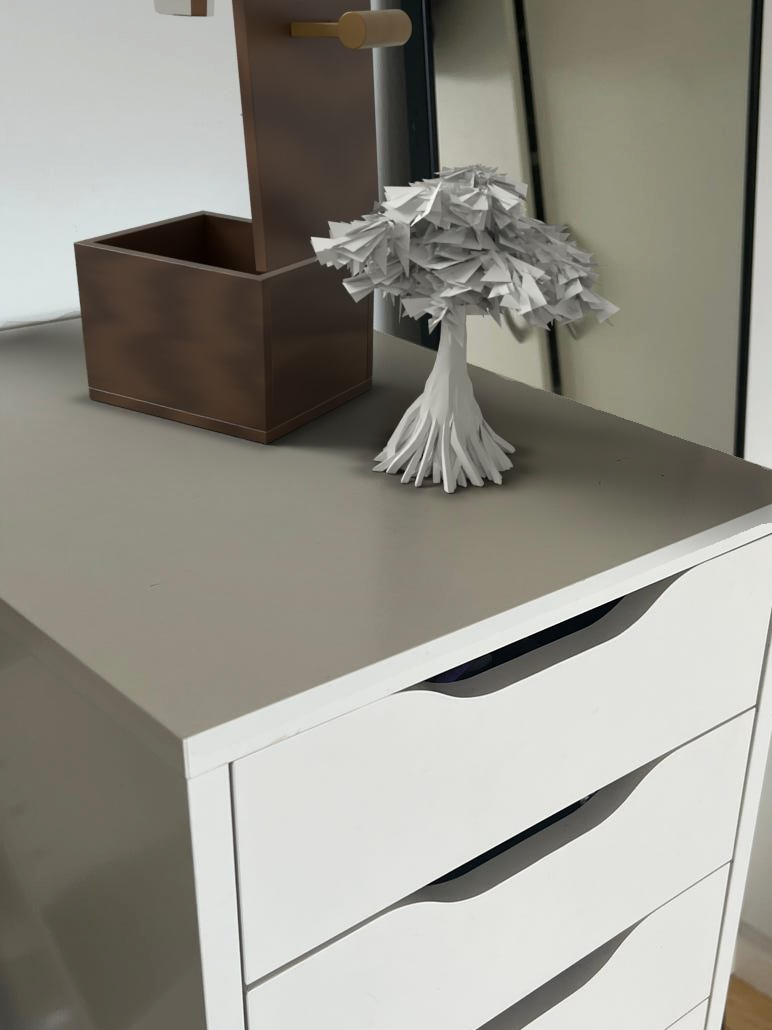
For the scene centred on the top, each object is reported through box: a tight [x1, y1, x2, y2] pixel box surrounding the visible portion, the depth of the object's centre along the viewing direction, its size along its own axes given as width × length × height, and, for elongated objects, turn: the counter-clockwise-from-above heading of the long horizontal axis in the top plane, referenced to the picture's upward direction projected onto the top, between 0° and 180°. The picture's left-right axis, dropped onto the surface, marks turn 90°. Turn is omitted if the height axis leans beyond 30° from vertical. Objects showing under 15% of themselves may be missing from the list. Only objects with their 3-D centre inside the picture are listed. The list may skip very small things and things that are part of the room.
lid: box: [231, 0, 413, 272], centre depth 69 cm, size 14×13×6 cm
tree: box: [310, 163, 621, 494], centre depth 68 cm, size 18×16×17 cm
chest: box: [73, 209, 375, 445], centre depth 78 cm, size 14×13×10 cm
